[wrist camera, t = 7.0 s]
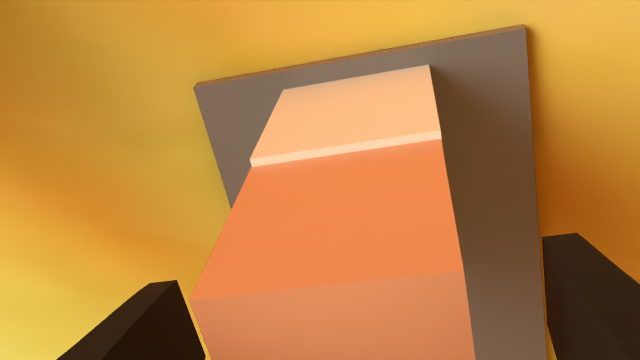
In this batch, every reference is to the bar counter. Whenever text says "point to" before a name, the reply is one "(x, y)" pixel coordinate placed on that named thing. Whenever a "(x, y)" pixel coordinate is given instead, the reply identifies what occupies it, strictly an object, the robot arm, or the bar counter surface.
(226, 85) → the baseplate
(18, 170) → the bar counter surface
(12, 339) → the bar counter surface
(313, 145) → the cream block
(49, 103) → the bar counter surface
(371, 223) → the terracotta block
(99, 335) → the robot arm
